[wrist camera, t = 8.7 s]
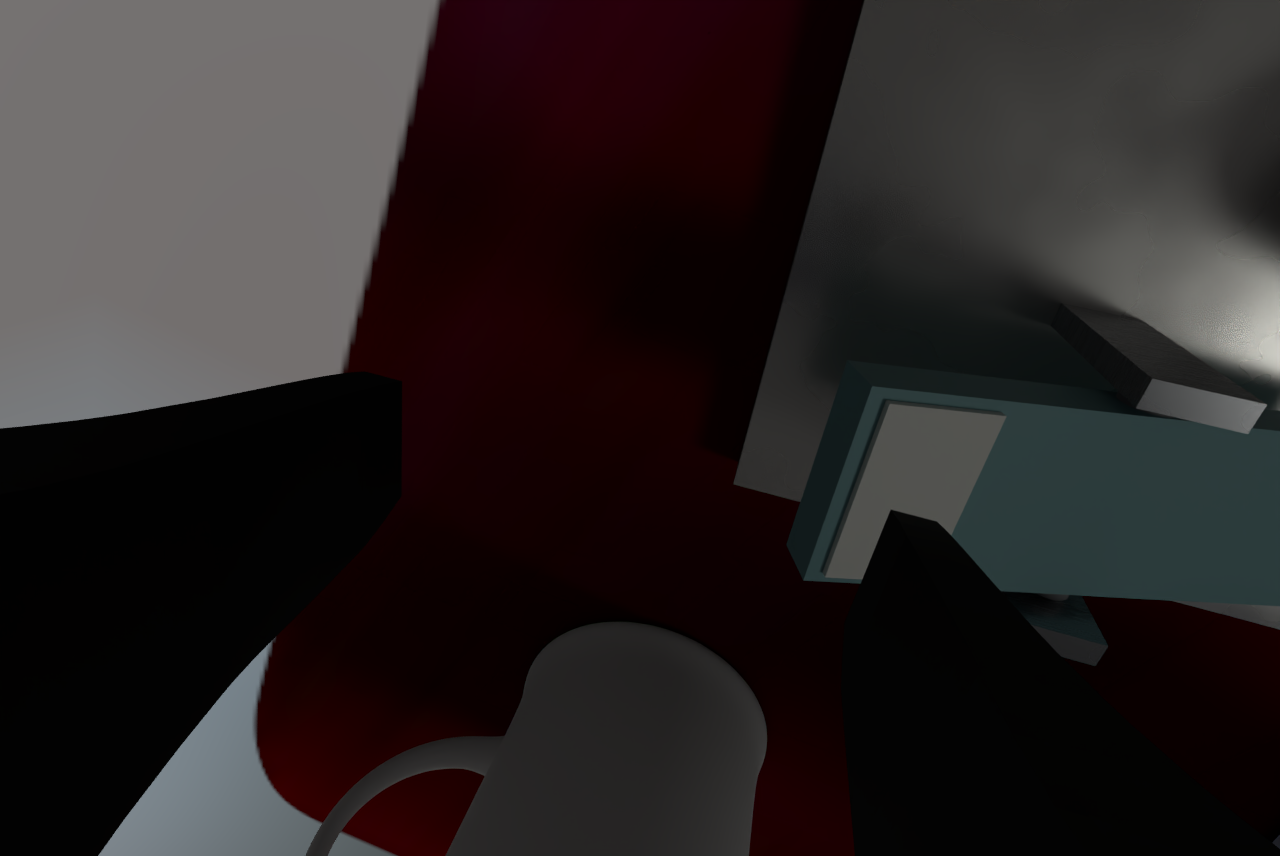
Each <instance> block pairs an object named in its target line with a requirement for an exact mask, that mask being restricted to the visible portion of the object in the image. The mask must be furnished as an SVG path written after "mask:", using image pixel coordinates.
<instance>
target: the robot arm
mask: <svg viewBox="0 0 1280 856" xmlns="http://www.w3.org/2000/svg"><path fill="white" fill-rule="evenodd" d="M401 457H402V381H399V380H395V379H391V378H387V377H383V376H380V375H376V374H372V373H368V372H352V373H343V374H336V375H329V376H323V377H318V378H312V379H307V380H301V381H297V382H291V383H286V384H281V385H276V386H271V387H266V388H261V389H256V390H251V391H246V392H242V393H237V394H232V395H227V396H222V397H217V398H212V399H207V400H200V401H195V402H189V403H184V404H178V405H172V406H166V407H161V408H156V409H149V410H144V411H138V412H132V413H127V414H120V415H113V416H106V417H99V418H92V419H84V420H77V421H68V422H59V423H51V424H41V425H32V426H23V427H12V428H3V429H0V856H98V855H99V854H100V852H101V851H102V849H103V848H104V846H105V845H106V844H107V843H108V841H109V840H110V838H111V837H112V836H113V834H114V833H115V831H116V830H117V829H118V827H119V826H120V824H121V823H122V822H123V820H124V819H125V817H126V816H127V815H128V814H129V812H130V811H131V810H132V808H133V807H134V806H135V804H136V803H137V802H138V801H139V799H140V798H141V797H142V795H143V794H144V793H145V791H146V790H147V789H148V787H149V786H150V785H151V784H152V782H153V781H154V780H155V778H156V777H157V776H158V774H159V773H160V772H161V770H162V769H163V768H164V766H165V765H166V764H167V763H168V761H169V760H170V759H171V757H172V756H173V755H174V753H175V752H176V751H177V750H178V748H179V747H180V746H181V744H182V743H183V742H184V741H185V740H186V738H187V737H188V736H189V735H190V733H191V732H192V731H193V730H194V729H195V727H196V726H197V725H198V724H199V722H200V721H201V720H202V719H203V717H204V716H205V715H206V714H207V713H208V711H209V710H210V709H211V708H212V706H213V705H214V704H215V703H216V701H217V700H218V699H219V698H220V696H221V695H222V694H223V693H224V692H225V690H226V689H227V688H228V687H229V686H230V684H231V683H232V682H233V681H234V680H235V679H236V678H237V677H238V675H239V674H240V673H241V672H242V671H243V670H244V669H245V668H246V667H247V666H248V665H249V664H250V662H251V661H252V660H253V659H254V658H255V657H256V656H257V655H258V654H259V653H260V652H261V651H262V650H263V649H264V648H265V647H266V646H267V645H268V644H269V643H270V642H271V641H272V640H273V639H274V638H275V637H276V636H277V635H278V634H279V633H280V632H281V631H282V630H283V629H284V628H285V627H286V626H287V625H288V624H289V623H290V622H291V621H292V620H293V619H294V618H295V617H296V616H297V615H298V614H299V613H300V612H301V611H302V610H303V609H304V608H305V607H306V606H307V605H308V604H309V603H310V602H311V601H312V600H313V599H314V598H315V597H316V596H317V595H318V594H319V593H320V592H321V591H322V590H323V589H324V588H325V587H326V586H327V585H328V584H329V583H330V582H331V581H332V580H333V578H334V577H335V576H336V575H337V574H338V573H339V572H340V571H341V570H342V569H343V568H344V567H345V566H346V565H347V564H348V563H349V562H350V561H351V560H352V559H353V558H354V557H355V556H356V555H357V554H358V553H359V552H360V551H361V549H362V548H363V547H364V546H365V545H366V544H367V542H368V541H369V540H370V539H371V537H372V536H373V535H374V533H375V532H376V531H377V529H378V528H379V527H380V525H381V524H382V523H383V521H384V520H385V519H386V517H387V516H388V514H389V513H390V511H391V510H392V509H393V507H394V506H395V504H396V503H397V501H398V500H399V499H400V497H401ZM841 692H842V707H843V719H844V732H845V745H846V756H847V768H848V779H849V791H850V802H851V814H852V826H853V837H854V849H855V856H1280V835H1279V836H1278V837H1277V838H1276V839H1275V840H1274V841H1273V842H1270V841H1269V840H1268V839H1266V838H1265V837H1264V836H1263V835H1261V834H1260V833H1259V832H1258V831H1256V830H1255V829H1254V828H1252V827H1251V826H1250V825H1249V824H1247V823H1246V822H1245V821H1243V820H1242V819H1241V818H1240V817H1238V816H1237V815H1236V814H1235V813H1233V812H1232V811H1231V810H1230V809H1229V808H1227V807H1226V806H1225V805H1224V804H1222V803H1221V802H1220V801H1219V800H1218V799H1216V798H1215V797H1214V796H1213V795H1211V794H1210V793H1209V792H1208V791H1207V790H1205V789H1204V788H1203V787H1202V786H1201V785H1199V784H1198V783H1197V782H1196V781H1195V780H1193V779H1192V778H1191V777H1190V776H1189V775H1188V774H1187V773H1185V772H1184V771H1183V770H1182V769H1181V768H1180V767H1179V766H1178V765H1176V764H1175V763H1174V762H1173V761H1172V760H1171V759H1170V758H1168V757H1167V756H1166V755H1165V754H1164V753H1163V752H1162V751H1160V750H1159V749H1158V748H1157V747H1156V746H1155V745H1154V744H1152V743H1151V742H1150V741H1149V740H1148V739H1147V738H1146V737H1144V736H1143V735H1142V734H1141V733H1140V732H1139V731H1138V730H1136V729H1135V728H1134V727H1133V726H1132V725H1131V724H1130V723H1129V722H1128V721H1127V720H1126V719H1124V718H1123V717H1122V716H1121V715H1120V714H1119V713H1118V712H1117V711H1116V710H1115V709H1114V708H1113V707H1112V706H1111V705H1109V704H1108V703H1107V702H1106V701H1105V700H1104V699H1103V698H1102V697H1101V696H1100V695H1099V694H1098V693H1097V692H1096V691H1095V690H1094V689H1093V688H1092V687H1091V686H1090V685H1089V684H1088V683H1087V682H1086V681H1085V680H1084V679H1083V678H1082V677H1081V676H1080V675H1079V674H1078V673H1077V672H1076V671H1075V670H1074V669H1073V668H1072V667H1071V666H1070V665H1069V664H1068V663H1067V662H1066V661H1065V660H1064V659H1063V658H1062V657H1061V656H1060V655H1059V654H1058V653H1057V652H1056V651H1055V650H1054V649H1053V648H1052V646H1051V645H1050V644H1049V643H1048V642H1047V641H1046V640H1045V639H1044V638H1043V637H1042V636H1041V635H1040V634H1039V633H1038V632H1037V631H1036V630H1035V628H1034V627H1033V626H1032V625H1031V624H1030V623H1029V622H1028V621H1027V620H1026V619H1025V618H1024V617H1023V615H1022V614H1021V613H1020V612H1019V611H1018V610H1017V609H1016V608H1015V607H1014V605H1013V604H1012V603H1011V602H1010V601H1009V600H1008V599H1007V598H1006V597H1005V595H1004V594H1003V593H1002V592H1001V591H1000V590H999V589H998V588H997V586H996V585H995V584H994V583H993V582H992V581H991V580H990V578H989V577H988V576H987V575H986V574H985V573H984V572H983V571H982V569H981V568H980V567H979V566H978V565H977V564H976V563H975V561H974V560H973V559H972V558H971V557H970V556H969V555H968V553H967V552H966V551H965V550H964V549H963V548H962V547H961V546H960V545H959V543H958V542H957V541H956V540H955V539H954V538H953V537H952V536H951V535H950V534H949V533H948V532H947V531H946V530H945V529H944V528H943V527H942V526H941V525H940V524H939V523H938V522H937V521H933V520H929V519H925V518H922V517H918V516H914V515H910V514H906V513H903V512H899V511H895V510H890V512H889V515H888V517H887V520H886V522H885V525H884V527H883V530H882V532H881V535H880V537H879V540H878V542H877V544H876V547H875V549H874V552H873V554H872V557H871V559H870V562H869V564H868V567H867V569H866V572H865V574H864V576H863V579H862V581H861V584H860V586H859V589H858V591H857V594H856V596H855V599H854V601H853V604H852V606H851V608H850V611H849V613H848V616H847V618H846V621H845V626H844V642H843V657H842V681H841Z"/></svg>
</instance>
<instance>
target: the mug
mask: <svg viewBox="0 0 1280 856" xmlns="http://www.w3.org/2000/svg"><path fill="white" fill-rule="evenodd" d="M766 747H767V730H766V724H765V719H764V716H763V712H762V710H761V707H760V705H759V703H758V701H757V699H756V697H755V695H754V693H753V692H752V690H751V689H750V687H749V686H748V684H747V683H746V682H745V680H744V679H743V678H742V677H741V676H740V675H739V673H738V672H737V671H736V670H735V669H734V668H733V667H732V666H730V665H729V664H728V663H727V662H726V661H725V660H723V659H722V658H721V657H720V656H718V655H717V654H716V653H714V652H713V651H711V650H710V649H708V648H707V647H705V646H703V645H701V644H700V643H698V642H696V641H694V640H692V639H690V638H688V637H686V636H683V635H681V634H679V633H676V632H673V631H670V630H667V629H664V628H660V627H657V626H652V625H647V624H642V623H634V622H602V623H595V624H590V625H585V626H582V627H579V628H576V629H573V630H571V631H568V632H566V633H564V634H562V635H561V636H559V637H557V638H556V639H554V640H553V641H552V642H550V643H549V644H548V645H547V646H546V647H545V648H544V649H543V650H542V651H541V652H540V653H539V654H538V656H537V657H536V659H535V660H534V662H533V664H532V666H531V668H530V670H529V672H528V675H527V678H526V682H525V686H524V693H523V697H522V699H521V702H520V704H519V707H518V709H517V711H516V713H515V715H514V718H513V720H512V722H511V724H510V726H509V728H508V730H507V732H506V734H505V736H498V737H487V736H464V737H454V738H447V739H442V740H437V741H433V742H429V743H426V744H423V745H420V746H417V747H414V748H412V749H409V750H407V751H405V752H403V753H401V754H399V755H397V756H395V757H393V758H391V759H389V760H388V761H386V762H384V763H383V764H381V765H380V766H378V767H377V768H375V769H374V770H372V771H371V772H370V773H368V774H367V775H366V776H365V777H363V778H362V779H361V780H360V781H359V782H358V783H356V784H355V785H354V786H353V787H352V788H351V789H350V790H349V791H348V792H347V793H346V794H345V795H344V796H343V797H342V799H341V800H340V801H339V802H338V803H337V804H336V806H335V807H334V808H333V809H332V811H331V812H330V813H329V815H328V816H327V818H326V819H325V821H324V822H323V824H322V825H321V827H320V829H319V830H318V832H317V834H316V835H315V837H314V839H313V841H312V843H311V845H310V847H309V849H308V851H307V854H306V856H328V853H329V851H330V849H331V847H332V845H333V843H334V842H335V840H336V838H337V837H338V835H339V833H340V832H341V830H342V829H343V828H344V826H345V825H346V824H347V822H348V821H349V820H350V819H351V818H352V816H353V815H354V814H355V813H356V812H357V811H358V810H359V809H360V808H361V807H362V806H363V805H364V804H365V803H367V802H368V801H369V800H370V799H371V798H373V797H374V796H375V795H377V794H378V793H380V792H381V791H383V790H384V789H386V788H387V787H389V786H391V785H393V784H394V783H396V782H398V781H400V780H403V779H405V778H407V777H410V776H413V775H416V774H419V773H422V772H426V771H431V770H437V769H446V768H459V769H467V770H471V771H474V772H477V773H479V774H482V775H484V776H485V777H484V779H483V781H482V783H481V785H480V787H479V789H478V791H477V793H476V795H475V797H474V799H473V801H472V803H471V805H470V807H469V809H468V811H467V813H466V815H465V818H464V820H463V822H462V824H461V826H460V828H459V830H458V832H457V834H456V836H455V838H454V840H453V842H452V844H451V846H450V848H449V850H448V852H447V854H446V856H749V847H750V836H751V826H752V816H753V806H754V797H755V789H756V782H757V777H758V774H759V771H760V769H761V767H762V764H763V761H764V757H765V753H766Z"/></svg>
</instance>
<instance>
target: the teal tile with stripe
mask: <svg viewBox="0 0 1280 856" xmlns="http://www.w3.org/2000/svg"><path fill="white" fill-rule="evenodd" d="M890 510H895V511H899V512H903V513H906V514H910V515H914V516H918V517H922V518H925V519H929V520H933V521H937V522H938V523H939V524H940V525H941V526H942V527H943V528H944V529H945V530H946V531H947V532H948V533H949V534H950V535H951V536H952V537H953V538H954V539H955V540H956V541H957V542H958V543H959V545H960V546H961V547H962V548H963V549H964V550H965V551H966V552H967V553H968V555H969V556H970V557H971V558H972V559H973V560H974V561H975V563H976V564H977V565H978V566H979V567H980V568H981V569H982V571H983V572H984V573H985V574H986V575H987V576H988V577H989V578H990V580H991V581H992V582H993V583H994V584H995V585H996V586H997V588H998V589H999V590H1000V591H1007V592H1026V593H1036V594H1038V595H1040V596H1042V597H1045V598H1048V599H1051V600H1056V601H1063V600H1066V599H1067V598H1068V597H1069V595H1081V596H1099V597H1117V598H1136V599H1154V600H1173V601H1191V602H1209V603H1228V604H1246V605H1264V606H1280V411H1278V410H1270V409H1264V411H1263V412H1262V414H1261V415H1260V417H1259V418H1258V420H1257V421H1256V423H1255V424H1254V426H1253V427H1252V429H1251V430H1250V432H1249V433H1248V434H1245V433H1241V432H1236V431H1232V430H1228V429H1224V428H1219V427H1215V426H1211V425H1206V424H1202V423H1198V422H1193V421H1189V420H1185V419H1181V418H1176V417H1172V416H1168V415H1163V414H1159V413H1155V412H1150V411H1146V410H1142V409H1137V408H1135V407H1134V406H1133V405H1132V404H1131V403H1130V402H1129V401H1128V400H1127V399H1126V398H1125V397H1124V396H1123V395H1122V394H1121V393H1120V392H1119V391H1118V392H1116V391H1107V390H1098V389H1090V388H1081V387H1073V386H1064V385H1056V384H1047V383H1038V382H1030V381H1021V380H1013V379H1004V378H996V377H987V376H978V375H970V374H961V373H953V372H944V371H936V370H927V369H918V368H910V367H901V366H893V365H884V364H875V363H867V362H858V361H850V360H847V362H846V365H845V369H844V372H843V375H842V378H841V381H840V384H839V387H838V390H837V393H836V396H835V399H834V402H833V405H832V408H831V411H830V414H829V417H828V420H827V423H826V426H825V429H824V432H823V435H822V438H821V441H820V444H819V447H818V450H817V453H816V456H815V459H814V463H813V466H812V469H811V472H810V475H809V478H808V481H807V484H806V487H805V490H804V493H803V496H802V499H801V502H800V505H799V508H798V511H797V514H796V517H795V520H794V523H793V526H792V529H791V532H790V535H789V538H788V541H787V544H786V545H787V547H788V549H789V551H790V553H791V556H792V558H793V560H794V562H795V564H796V566H797V568H798V570H799V572H800V574H801V577H802V579H803V580H805V581H823V582H842V583H860V584H861V581H862V579H863V576H864V574H865V572H866V569H867V567H868V564H869V562H870V559H871V557H872V554H873V552H874V549H875V547H876V544H877V542H878V540H879V537H880V535H881V532H882V530H883V527H884V525H885V522H886V520H887V517H888V515H889V512H890Z"/></svg>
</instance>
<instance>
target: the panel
mask: <svg viewBox="0 0 1280 856" xmlns="http://www.w3.org/2000/svg"><path fill="white" fill-rule="evenodd" d="M847 360H850V361H858V362H867V363H875V364H884V365H893V366H901V367H910V368H918V369H927V370H936V371H944V372H953V373H961V374H970V375H978V376H987V377H996V378H1004V379H1013V380H1021V381H1030V382H1038V383H1047V384H1056V385H1064V386H1073V387H1081V388H1090V389H1098V390H1107V391H1116V392H1118V391H1119V392H1120V393H1121V394H1122V395H1123V396H1124V397H1125V398H1126V399H1127V400H1128V401H1129V402H1130V403H1131V404H1132V405H1133V406H1134V407H1135V408H1137V409H1142V410H1146V411H1150V412H1155V413H1159V414H1163V415H1168V416H1172V417H1176V418H1181V419H1185V420H1189V421H1193V422H1198V423H1202V424H1206V425H1211V426H1215V427H1219V428H1224V429H1228V430H1232V431H1236V432H1241V433H1245V434H1248V433H1249V432H1250V430H1251V429H1252V427H1253V426H1254V424H1255V423H1256V421H1257V420H1258V418H1259V417H1260V415H1261V414H1262V412H1263V411H1264V409H1270V410H1278V411H1280V0H863V3H862V6H861V10H860V14H859V18H858V21H857V25H856V29H855V32H854V36H853V40H852V43H851V47H850V51H849V55H848V58H847V62H846V66H845V69H844V73H843V77H842V80H841V84H840V88H839V92H838V95H837V99H836V103H835V106H834V110H833V114H832V117H831V121H830V125H829V129H828V132H827V136H826V140H825V143H824V147H823V151H822V154H821V158H820V162H819V166H818V169H817V173H816V177H815V180H814V184H813V188H812V191H811V195H810V199H809V203H808V206H807V210H806V214H805V217H804V221H803V225H802V228H801V232H800V236H799V240H798V243H797V247H796V251H795V254H794V258H793V262H792V265H791V269H790V273H789V277H788V280H787V284H786V288H785V291H784V295H783V299H782V302H781V306H780V310H779V314H778V317H777V321H776V325H775V328H774V332H773V336H772V339H771V343H770V347H769V351H768V354H767V358H766V362H765V365H764V369H763V373H762V376H761V380H760V384H759V388H758V391H757V395H756V399H755V402H754V406H753V410H752V413H751V417H750V421H749V425H748V428H747V432H746V436H745V439H744V443H743V447H742V450H741V454H740V458H739V462H738V466H737V470H736V475H735V479H734V484H735V485H738V486H742V487H746V488H750V489H753V490H757V491H761V492H765V493H769V494H772V495H776V496H780V497H784V498H787V499H791V500H795V501H799V502H801V499H802V496H803V493H804V490H805V487H806V484H807V481H808V478H809V475H810V472H811V469H812V466H813V463H814V459H815V456H816V453H817V450H818V447H819V444H820V441H821V438H822V435H823V432H824V429H825V426H826V423H827V420H828V417H829V414H830V411H831V408H832V405H833V402H834V399H835V396H836V393H837V390H838V387H839V384H840V381H841V378H842V375H843V372H844V369H845V365H846V362H847ZM1001 592H1002V593H1003V594H1004V595H1005V597H1006V598H1007V599H1008V600H1009V601H1010V602H1011V603H1012V604H1013V605H1014V607H1015V608H1016V609H1017V610H1018V611H1019V612H1020V613H1021V614H1022V615H1023V617H1024V618H1025V619H1026V620H1027V621H1028V622H1029V623H1030V624H1031V625H1032V626H1033V627H1034V628H1035V630H1036V631H1037V632H1038V633H1039V634H1040V635H1041V636H1042V637H1043V638H1044V639H1045V640H1046V641H1047V642H1048V643H1049V644H1050V645H1051V646H1052V648H1053V649H1054V650H1055V651H1056V652H1057V653H1058V654H1059V655H1060V656H1061V657H1065V658H1068V659H1072V660H1075V661H1079V662H1083V663H1086V664H1090V665H1093V666H1096V664H1097V663H1098V661H1099V660H1100V658H1101V657H1102V655H1103V653H1104V652H1105V650H1106V649H1107V647H1108V645H1107V643H1106V641H1105V639H1104V637H1103V635H1102V634H1101V632H1100V630H1099V628H1098V626H1097V624H1096V622H1095V620H1094V619H1093V617H1092V615H1091V613H1090V611H1089V609H1088V607H1087V605H1086V604H1085V602H1084V600H1083V598H1082V596H1081V595H1069V597H1068V598H1067V599H1066V600H1063V601H1056V600H1051V599H1048V598H1045V597H1042V596H1040V595H1038V594H1036V593H1026V592H1007V591H1001ZM1171 601H1173V600H1171ZM1175 602H1179V603H1182V604H1186V605H1190V606H1194V607H1197V608H1201V609H1205V610H1209V611H1213V612H1216V613H1220V614H1224V615H1228V616H1231V617H1235V618H1239V619H1243V620H1246V621H1250V622H1254V623H1258V624H1261V625H1265V626H1269V627H1273V628H1277V629H1280V606H1264V605H1246V604H1228V603H1209V602H1191V601H1175Z"/></svg>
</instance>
